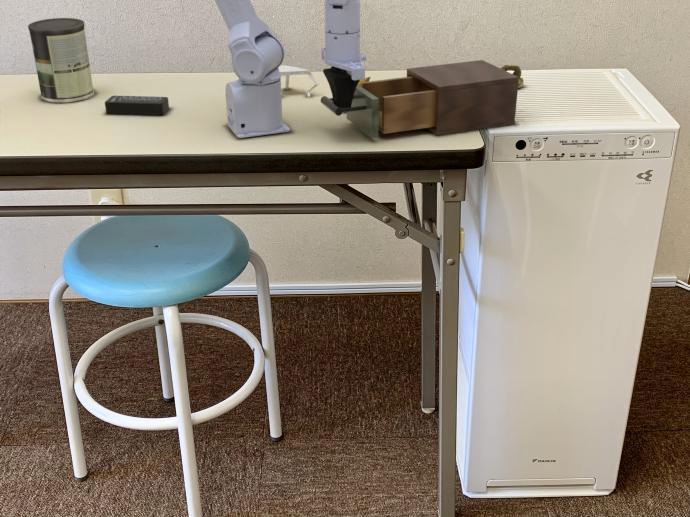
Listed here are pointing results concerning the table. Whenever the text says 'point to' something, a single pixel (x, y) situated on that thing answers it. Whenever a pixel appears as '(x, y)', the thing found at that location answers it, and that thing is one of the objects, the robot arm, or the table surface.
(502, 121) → the cabinet
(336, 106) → the drawer
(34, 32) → the coffee can
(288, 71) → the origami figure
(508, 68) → the seal
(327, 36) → the robot arm
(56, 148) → the table surface
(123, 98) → the multiport hub
